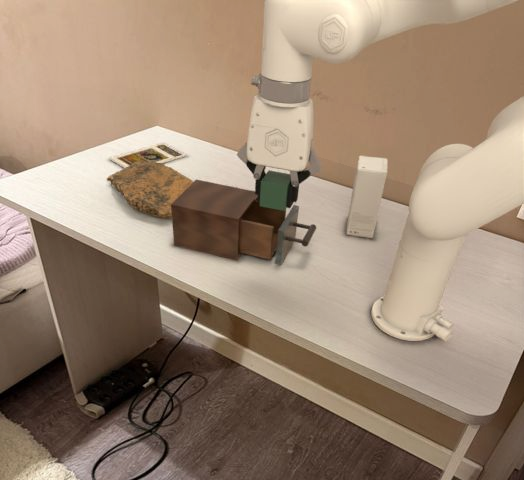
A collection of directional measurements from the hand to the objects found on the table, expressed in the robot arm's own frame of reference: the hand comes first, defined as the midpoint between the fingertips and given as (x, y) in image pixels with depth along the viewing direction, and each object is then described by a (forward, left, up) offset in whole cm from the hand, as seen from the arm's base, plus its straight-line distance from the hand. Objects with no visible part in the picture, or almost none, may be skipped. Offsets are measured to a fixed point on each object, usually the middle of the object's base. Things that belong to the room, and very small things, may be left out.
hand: (275, 200), depth 86 cm
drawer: (+8, -7, -16) cm, 20 cm away
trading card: (+64, -12, -17) cm, 67 cm away
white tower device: (+3, -31, -17) cm, 36 cm away
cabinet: (+19, -1, -17) cm, 26 cm away
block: (0, 0, 0) cm, 0 cm away
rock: (+44, 0, -17) cm, 47 cm away
